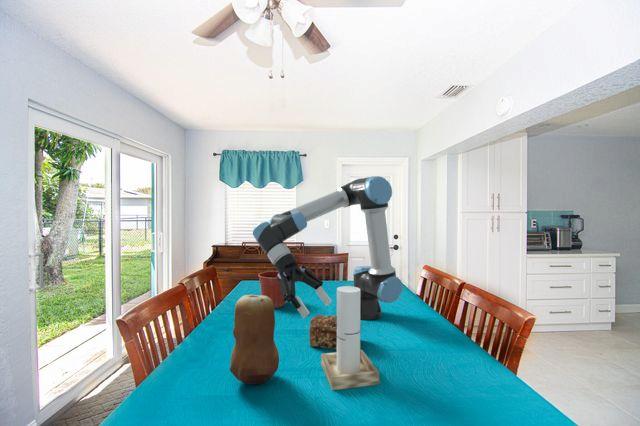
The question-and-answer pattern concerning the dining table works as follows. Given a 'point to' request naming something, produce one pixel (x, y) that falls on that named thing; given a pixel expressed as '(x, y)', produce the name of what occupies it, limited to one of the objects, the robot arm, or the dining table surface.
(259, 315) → the butternut squash
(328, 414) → the dining table surface
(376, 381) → the holder tray
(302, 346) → the dining table surface
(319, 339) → the bread
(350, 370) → the cylindrical container
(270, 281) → the flower pot
